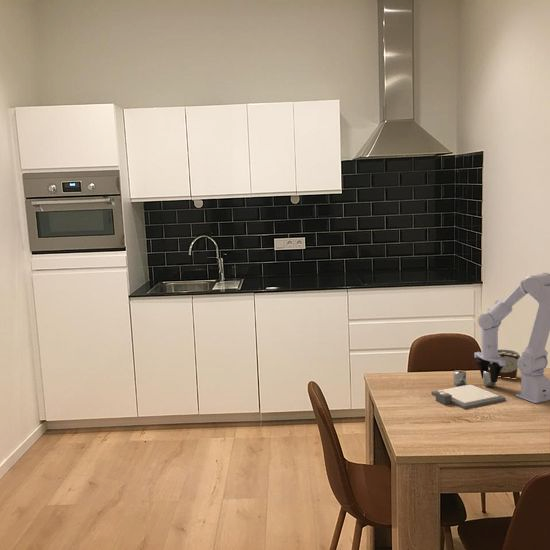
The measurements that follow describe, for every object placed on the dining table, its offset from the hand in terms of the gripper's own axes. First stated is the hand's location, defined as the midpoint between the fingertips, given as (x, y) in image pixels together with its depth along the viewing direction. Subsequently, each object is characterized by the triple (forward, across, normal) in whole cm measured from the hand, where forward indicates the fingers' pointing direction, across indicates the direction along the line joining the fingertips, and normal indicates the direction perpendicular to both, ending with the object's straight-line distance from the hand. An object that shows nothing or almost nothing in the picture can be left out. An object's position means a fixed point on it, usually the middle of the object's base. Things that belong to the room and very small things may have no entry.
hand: (489, 380), depth 234 cm
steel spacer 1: (+2, +7, +8) cm, 11 cm away
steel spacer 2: (+2, 0, 0) cm, 2 cm away
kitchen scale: (+2, -6, +16) cm, 18 cm away
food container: (+3, +7, -14) cm, 16 cm away
